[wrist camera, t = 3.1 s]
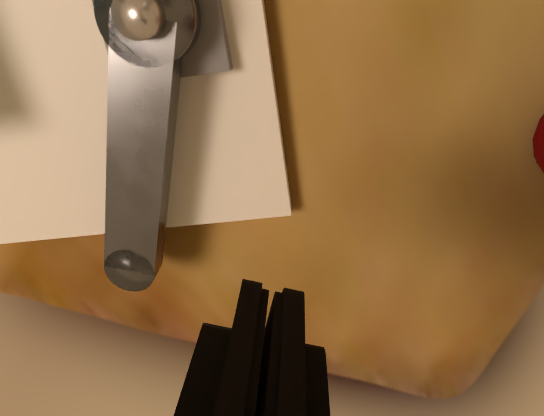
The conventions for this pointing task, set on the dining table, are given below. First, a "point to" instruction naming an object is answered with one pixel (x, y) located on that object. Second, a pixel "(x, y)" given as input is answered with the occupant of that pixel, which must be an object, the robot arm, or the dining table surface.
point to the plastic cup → (539, 144)
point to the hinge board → (93, 121)
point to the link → (141, 128)
